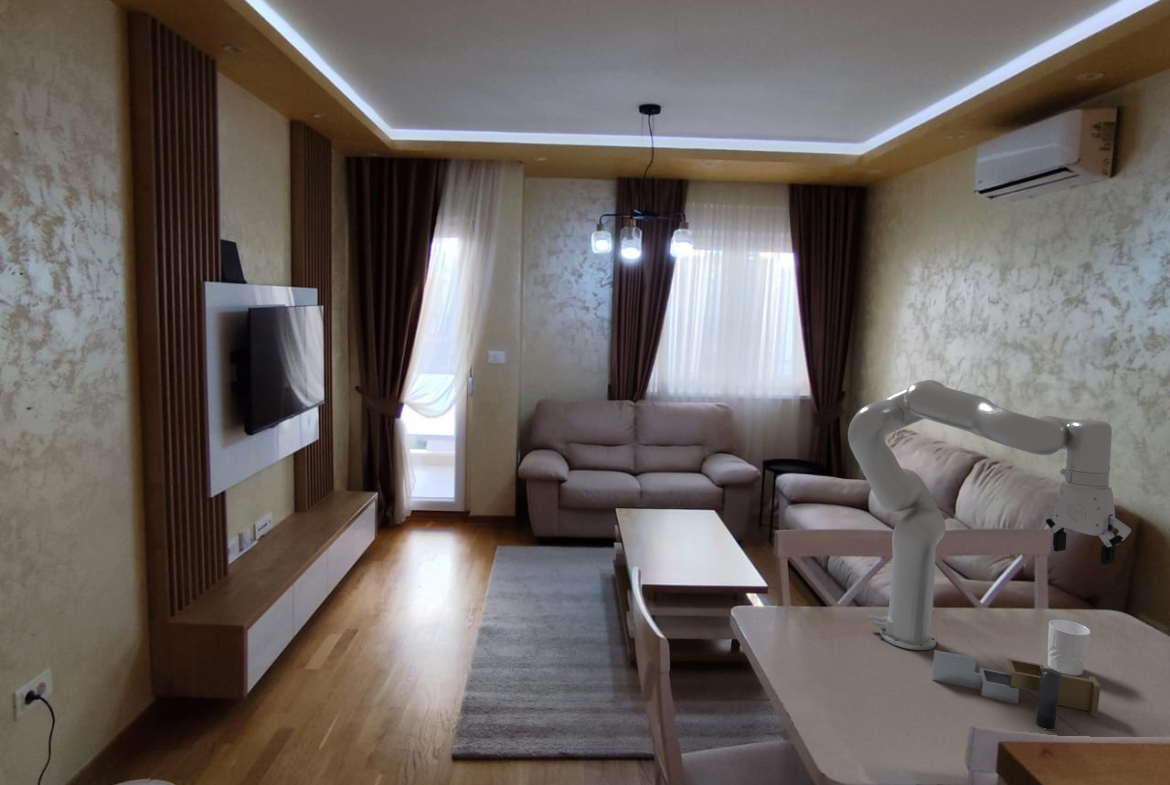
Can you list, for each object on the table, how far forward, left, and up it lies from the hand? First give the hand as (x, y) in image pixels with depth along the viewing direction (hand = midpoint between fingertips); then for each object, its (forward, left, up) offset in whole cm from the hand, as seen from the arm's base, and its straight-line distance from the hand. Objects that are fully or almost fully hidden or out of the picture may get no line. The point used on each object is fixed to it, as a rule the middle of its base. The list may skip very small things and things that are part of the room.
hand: (1082, 557), depth 151 cm
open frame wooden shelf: (-5, -10, -29) cm, 31 cm away
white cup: (+1, +9, -29) cm, 31 cm away
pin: (-8, -20, -29) cm, 36 cm away
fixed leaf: (-20, -10, -29) cm, 36 cm away
